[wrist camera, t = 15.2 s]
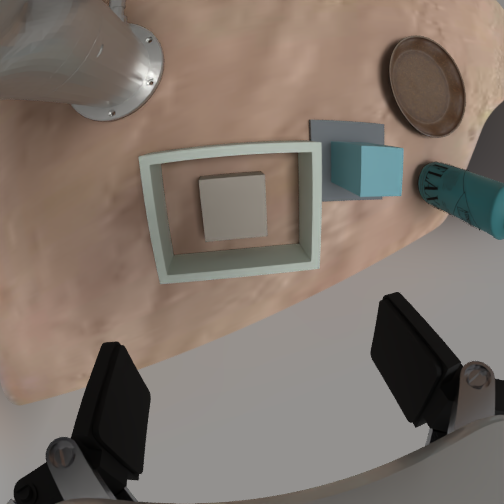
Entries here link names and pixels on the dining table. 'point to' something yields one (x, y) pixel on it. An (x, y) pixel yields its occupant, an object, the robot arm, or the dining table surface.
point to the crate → (235, 214)
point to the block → (367, 168)
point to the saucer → (427, 86)
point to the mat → (342, 133)
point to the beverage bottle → (465, 196)
